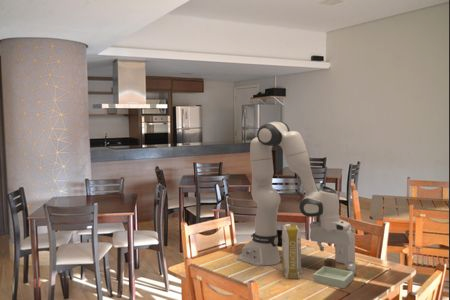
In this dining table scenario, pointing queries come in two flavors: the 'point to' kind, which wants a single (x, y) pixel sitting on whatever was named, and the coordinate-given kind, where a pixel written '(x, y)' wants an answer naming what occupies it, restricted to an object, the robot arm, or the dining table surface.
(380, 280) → the dining table surface
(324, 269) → the tray
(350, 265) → the aluminium bushing
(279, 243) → the coffee mug
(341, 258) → the milk carton
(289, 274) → the juice carton
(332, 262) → the walnut block
